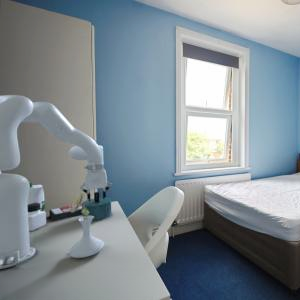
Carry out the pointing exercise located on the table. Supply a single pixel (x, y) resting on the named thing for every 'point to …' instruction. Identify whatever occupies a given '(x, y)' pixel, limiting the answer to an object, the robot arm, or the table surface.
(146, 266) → the table surface
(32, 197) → the milk carton
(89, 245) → the flower in vase
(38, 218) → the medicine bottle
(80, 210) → the calculator
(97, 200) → the lid
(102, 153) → the robot arm
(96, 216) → the tin
